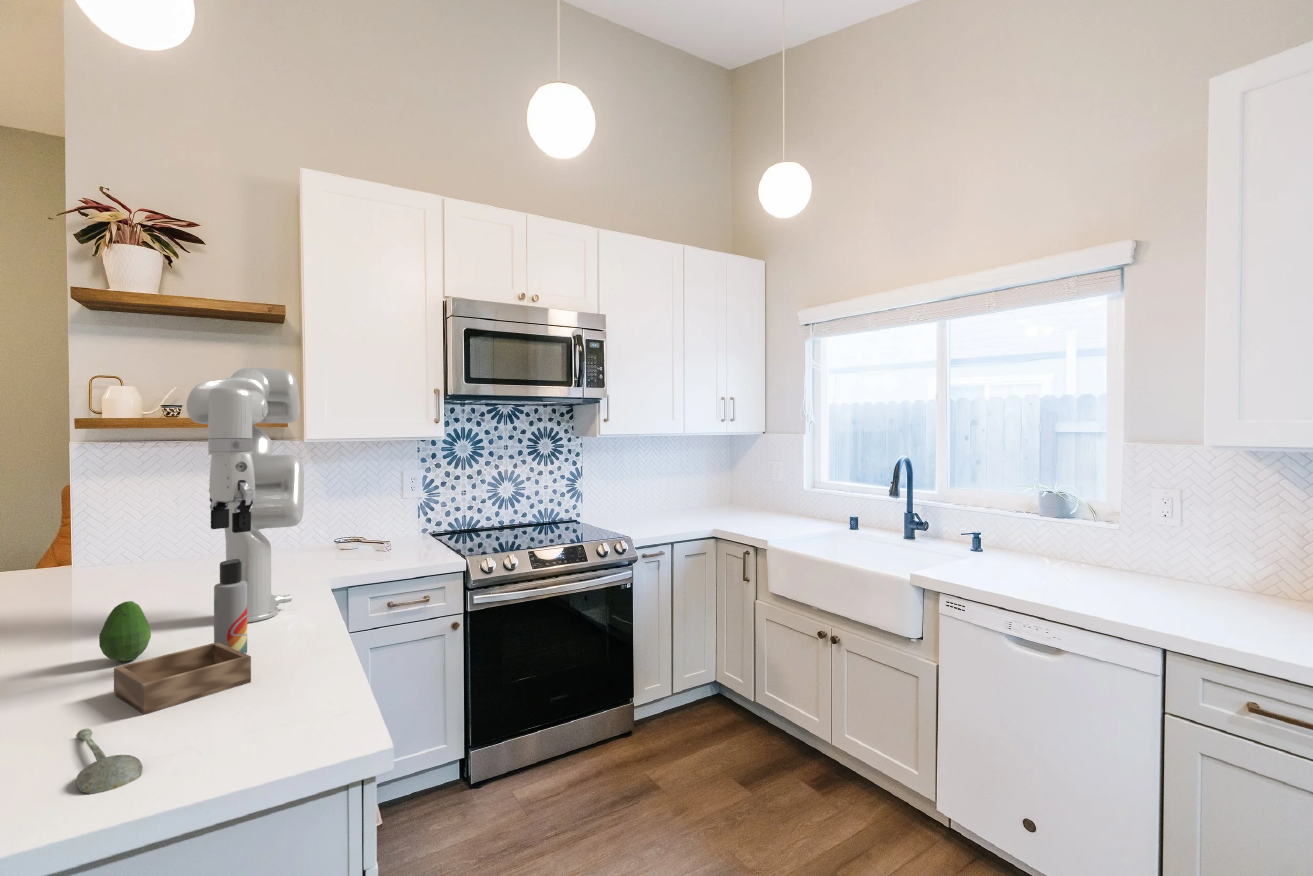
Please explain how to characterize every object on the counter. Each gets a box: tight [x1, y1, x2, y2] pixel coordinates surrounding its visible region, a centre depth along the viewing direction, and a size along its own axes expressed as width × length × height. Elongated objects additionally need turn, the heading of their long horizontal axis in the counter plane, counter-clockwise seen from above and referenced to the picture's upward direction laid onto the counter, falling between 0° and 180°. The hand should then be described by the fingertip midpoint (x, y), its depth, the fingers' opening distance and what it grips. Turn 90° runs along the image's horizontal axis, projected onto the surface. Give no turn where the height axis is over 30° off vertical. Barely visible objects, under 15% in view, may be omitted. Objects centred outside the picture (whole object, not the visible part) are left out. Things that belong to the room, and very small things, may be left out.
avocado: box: [98, 600, 152, 662], centre depth 125 cm, size 8×8×12 cm
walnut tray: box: [113, 642, 252, 715], centre depth 112 cm, size 16×14×5 cm
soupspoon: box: [75, 727, 143, 795], centre depth 87 cm, size 22×3×7 cm
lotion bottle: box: [213, 559, 248, 655], centre depth 128 cm, size 6×6×20 cm
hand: (230, 530), depth 127 cm, fingers open, 9 cm apart
